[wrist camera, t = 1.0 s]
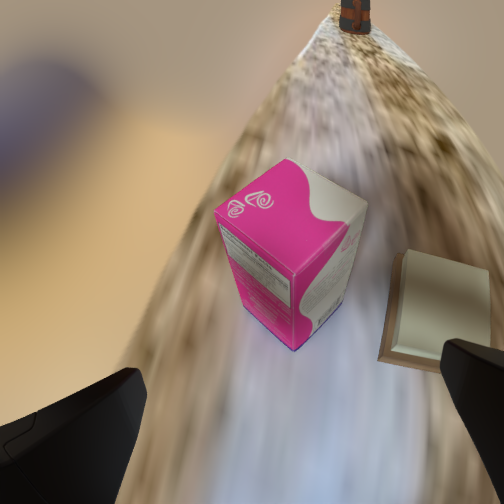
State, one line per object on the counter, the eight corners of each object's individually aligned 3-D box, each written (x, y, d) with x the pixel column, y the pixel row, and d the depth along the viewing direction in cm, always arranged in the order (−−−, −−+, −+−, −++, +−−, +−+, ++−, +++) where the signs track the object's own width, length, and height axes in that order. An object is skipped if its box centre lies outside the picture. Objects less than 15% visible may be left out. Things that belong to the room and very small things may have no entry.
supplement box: (289, 260, 27) (289, 152, 17) (343, 303, 24) (377, 204, 15) (239, 305, 25) (210, 207, 15) (293, 355, 22) (300, 280, 13)
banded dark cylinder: (340, 36, 62) (341, -5, 52) (338, 26, 69) (338, -10, 59) (373, 40, 61) (376, 0, 51) (368, 29, 67) (369, -6, 57)
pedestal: (473, 378, 19) (493, 368, 16) (377, 360, 21) (389, 349, 18) (477, 284, 23) (492, 267, 21) (392, 262, 25) (402, 242, 23)
